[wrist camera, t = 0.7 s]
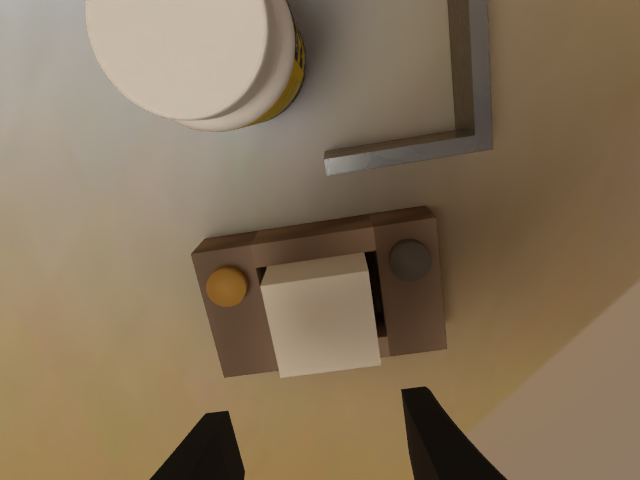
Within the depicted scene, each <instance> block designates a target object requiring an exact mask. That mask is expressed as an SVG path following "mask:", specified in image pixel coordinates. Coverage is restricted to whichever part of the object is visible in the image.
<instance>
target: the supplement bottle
mask: <svg viewBox="0 0 640 480" xmlns="http://www.w3.org/2000/svg"><path fill="white" fill-rule="evenodd" d="M85 12H86V24H87V30H88V35H89V39H90V42H91V45H92V48H93V51H94V53H95V56H96V58H97V60H98V62H99V64H100V66H101V67H102V69H103V71H104V73H105V74H106V76H107V77H108V78H109V80H110V81H111V82H112V83H113V84H114V85H115V86H116V88H117V89H118V90H119V91H120V92H121V93H122V94H123V95H124V96H125V97H127V98H128V99H129V100H130V101H132V102H133V103H134V104H136V105H137V106H139V107H141V108H142V109H144V110H146V111H148V112H151V113H153V114H155V115H158V116H161V117H164V118H168V119H171V120H173V121H174V122H176V123H179V124H181V125H183V126H186V127H188V128H191V129H194V130H199V131H209V132H224V131H230V130H235V129H239V128H243V127H246V126H250V125H254V124H257V123H262V122H265V121H268V120H270V119H272V118H274V117H276V116H277V115H279V114H281V113H282V112H283V111H284V110H286V109H287V108H288V107H289V106H290V104H291V103H292V102H293V101H294V99H295V98H296V96H297V95H298V93H299V91H300V89H301V86H302V83H303V80H304V75H305V69H306V56H305V48H304V44H303V40H302V37H301V34H300V32H299V30H298V27H297V25H296V22H295V20H294V18H293V15H292V13H291V11H290V8H289V5H288V3H287V0H86V3H85Z"/></svg>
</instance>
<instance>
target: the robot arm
mask: <svg viewBox="0 0 640 480" xmlns="http://www.w3.org/2000/svg"><path fill="white" fill-rule="evenodd" d="M401 391H402V399H403V407H404V416H405V424H406V432H407V440H408V448H409V455H410V460H411V465H412V470H413V475H414V479H415V480H507V479H506V478H505V477H504V476H503V475H502V474H501V473H500V472H499V471H498V470H497V469H496V468H495V467H494V466H493V465H492V464H491V463H490V462H489V461H488V460H487V459H486V458H485V457H484V456H483V455H482V454H481V453H480V452H479V450H478V449H477V448H476V447H475V446H474V445H473V444H472V443H471V442H470V441H469V439H468V438H467V437H466V436H465V435H464V434H463V433H462V431H461V430H460V429H459V428H458V427H457V426H456V424H455V423H454V422H453V421H452V419H451V418H450V417H449V416H448V414H447V413H446V412H445V411H444V409H443V408H442V407H441V405H440V404H439V402H438V401H437V400H436V398H435V397H434V395H433V394H432V392H431V391H430V390H429V389H428V388H427V387H417V388H409V389H401ZM244 475H245V470H244V467H243V463H242V459H241V456H240V452H239V448H238V445H237V441H236V437H235V434H234V430H233V426H232V423H231V419H230V415H229V412H228V411H222V412H214V413H206V414H205V415H204V416H203V417H202V418H201V420H200V421H199V422H198V423H197V424H196V425H195V427H194V428H193V429H192V430H191V431H190V433H189V434H188V435H187V436H186V438H185V439H184V440H183V441H182V442H181V444H180V445H179V446H178V447H177V448H176V450H175V451H174V452H173V453H172V454H171V455H170V457H169V458H168V459H167V460H166V461H165V462H164V464H163V465H162V466H161V467H160V468H159V469H158V471H157V472H156V473H155V474H154V475H153V476H152V478H151V479H150V480H244Z"/></svg>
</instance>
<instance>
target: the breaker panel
mask: <svg viewBox="0 0 640 480" xmlns="http://www.w3.org/2000/svg"><path fill="white" fill-rule="evenodd" d="M369 251H374V258H375V266H376V274H377V281H378V289H379V297H380V304H381V312H382V315H375V323H376V330H377V337H378V345H379V352H380V358H381V357H389V356H396V355H404V354H412V353H420V352H428V351H435V350H443V349H447V342H446V330H445V317H444V305H443V293H442V280H441V268H440V255H439V243H438V231H437V218H436V217H435V216H434V214H433V213H432V212H431V211H430V210H429V209H428V208H427V207H426V206H421V207H414V208H407V209H401V210H394V211H387V212H381V213H374V214H368V215H361V216H354V217H348V218H341V219H334V220H328V221H321V222H315V223H308V224H301V225H295V226H288V227H281V228H275V229H268V230H262V231H255V232H248V233H242V234H235V235H228V236H222V237H215V238H209V239H204V240H203V241H202V242H201V243H200V245H199V246H198V247H197V248H196V249H195V250H194V251H193V252H192V254H191V256H192V260H193V264H194V267H195V271H196V275H197V278H198V282H199V286H200V290H201V293H202V297H203V301H204V304H205V308H206V312H207V316H208V319H209V323H210V327H211V330H212V334H213V338H214V341H215V345H216V349H217V353H218V356H219V360H220V364H221V367H222V371H223V375H224V378H225V377H233V376H241V375H249V374H256V373H264V372H272V371H279V369H278V364H277V360H276V355H275V351H274V346H273V342H272V337H271V333H270V328H269V324H268V319H267V315H266V310H265V306H264V301H263V297H262V292H261V288H260V285H261V283H262V280H263V277H264V274H265V272H266V266H273V265H280V264H287V263H293V262H300V261H307V260H314V259H321V258H328V257H335V256H342V255H349V254H355V253H362V252H369Z"/></svg>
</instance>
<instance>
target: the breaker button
mask: <svg viewBox="0 0 640 480" xmlns="http://www.w3.org/2000/svg"><path fill="white" fill-rule="evenodd" d="M260 288H261V292H262V297H263V301H264V306H265V310H266V315H267V319H268V324H269V328H270V333H271V337H272V342H273V346H274V351H275V355H276V360H277V364H278V369H279V373H280V378H284V377H292V376H300V375H308V374H315V373H323V372H331V371H339V370H347V369H355V368H363V367H370V366H378V365H381V359H380V352H379V345H378V337H377V330H376V323H375V315H374V308H373V301H372V293H371V286H370V279H369V271H368V267H367V263H366V258H365V254H364V252H362V253H355V254H349V255H342V256H335V257H328V258H321V259H314V260H307V261H300V262H293V263H287V264H280V265H273V266H267V269H266V272H265V274H264V277H263V280H262V283H261V285H260Z"/></svg>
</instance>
